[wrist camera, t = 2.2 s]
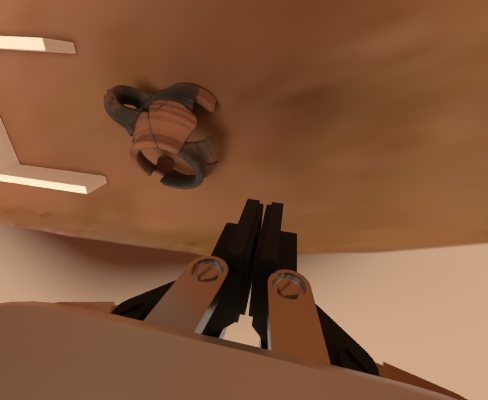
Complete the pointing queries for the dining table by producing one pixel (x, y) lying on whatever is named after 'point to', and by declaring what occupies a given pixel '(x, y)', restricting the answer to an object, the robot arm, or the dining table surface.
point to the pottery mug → (164, 129)
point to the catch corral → (3, 155)
